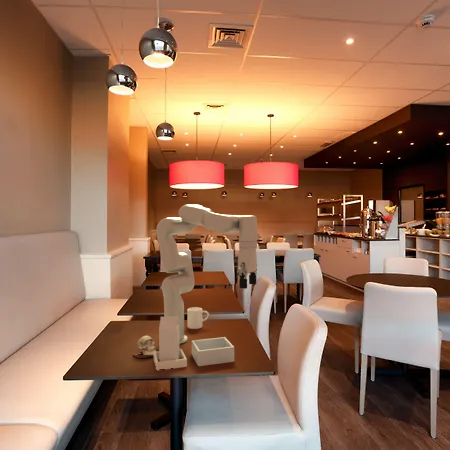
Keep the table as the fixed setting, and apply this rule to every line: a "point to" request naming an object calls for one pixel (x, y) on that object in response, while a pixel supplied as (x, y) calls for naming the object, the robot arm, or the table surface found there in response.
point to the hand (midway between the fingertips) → (248, 286)
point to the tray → (171, 363)
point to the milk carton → (169, 339)
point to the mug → (195, 317)
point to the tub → (212, 351)
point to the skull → (146, 347)
